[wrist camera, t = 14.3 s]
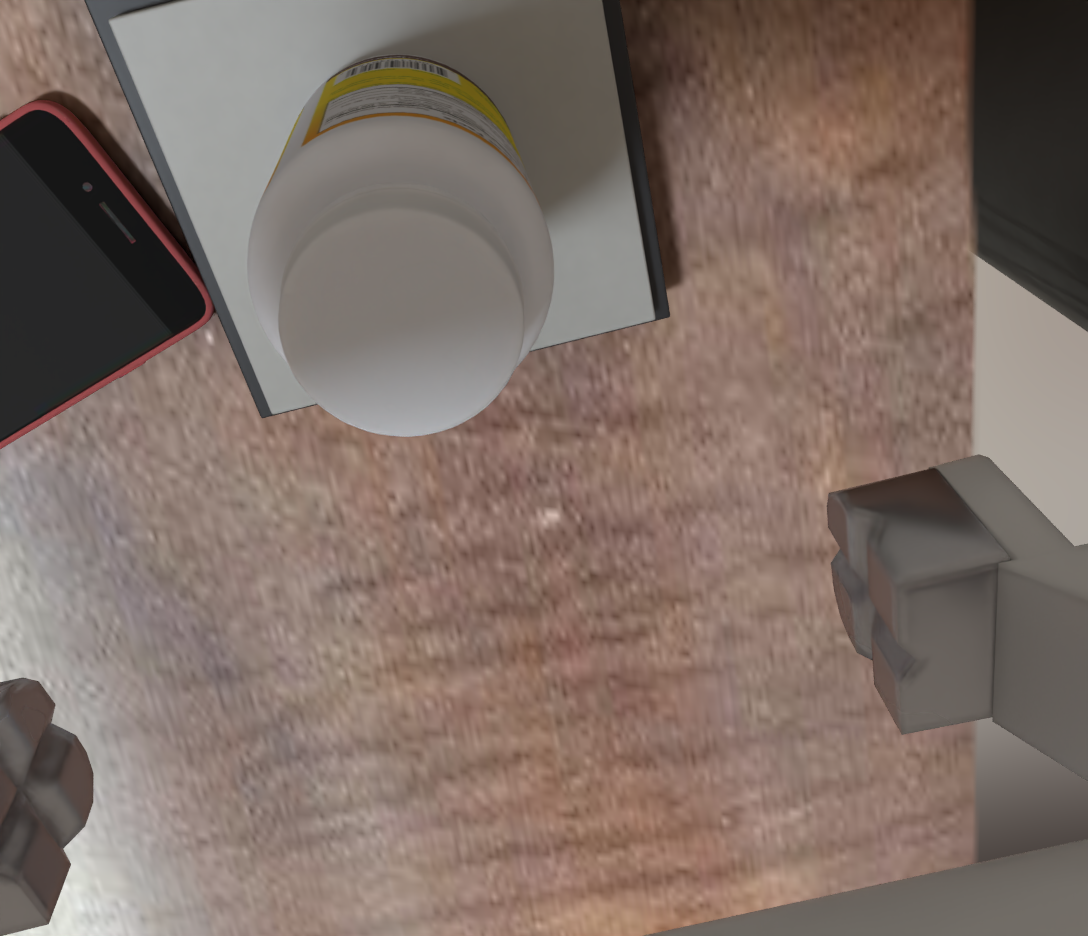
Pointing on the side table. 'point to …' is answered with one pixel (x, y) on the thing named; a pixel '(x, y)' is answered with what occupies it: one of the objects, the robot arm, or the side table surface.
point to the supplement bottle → (401, 248)
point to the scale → (360, 33)
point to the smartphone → (79, 270)
